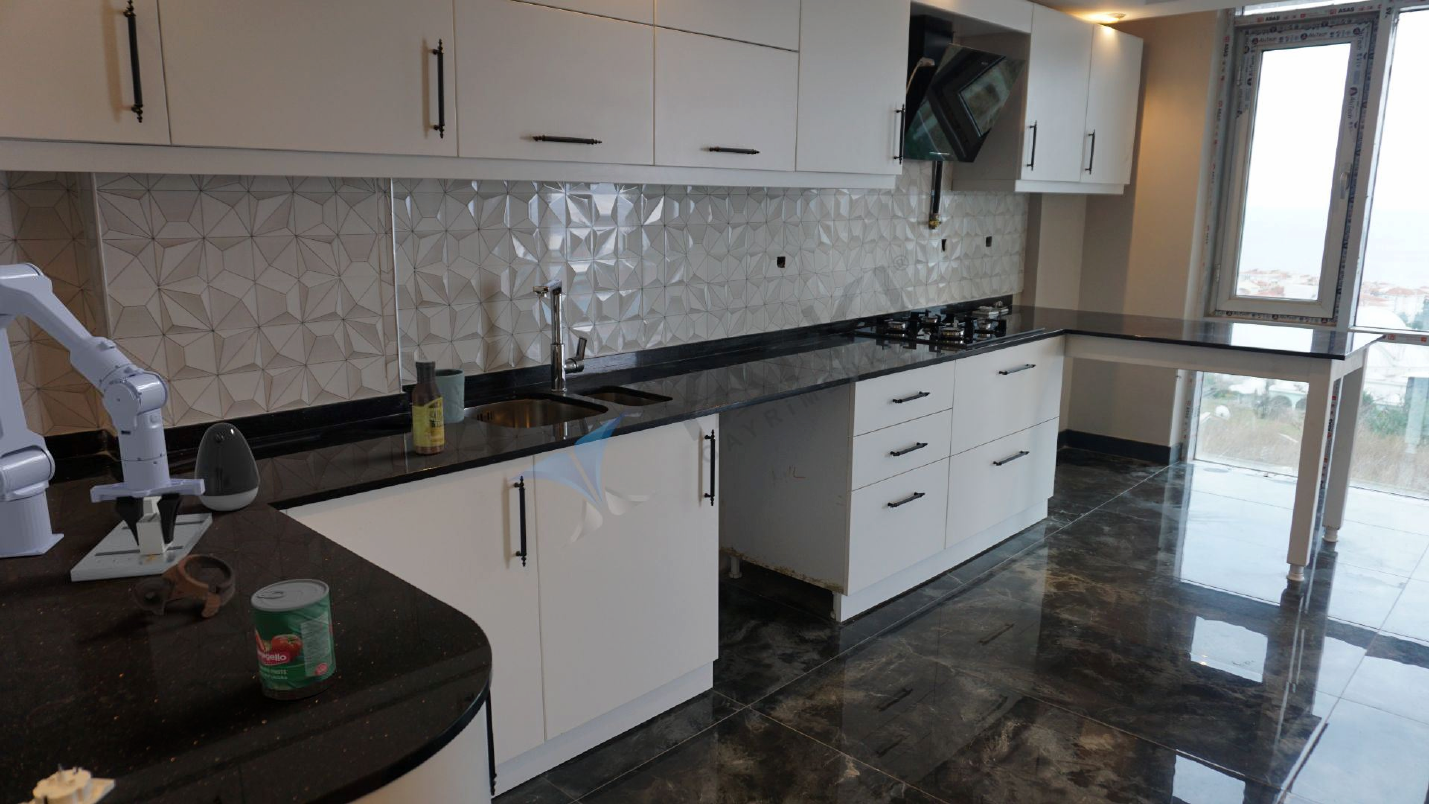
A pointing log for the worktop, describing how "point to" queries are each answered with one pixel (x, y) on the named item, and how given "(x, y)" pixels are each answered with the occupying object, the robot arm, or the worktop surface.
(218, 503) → the black egg shape
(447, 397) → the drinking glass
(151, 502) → the far fader cap
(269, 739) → the worktop surface
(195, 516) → the board
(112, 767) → the worktop surface
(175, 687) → the worktop surface
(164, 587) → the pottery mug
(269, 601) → the canned tomato
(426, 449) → the sauce bottle
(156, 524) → the cap
